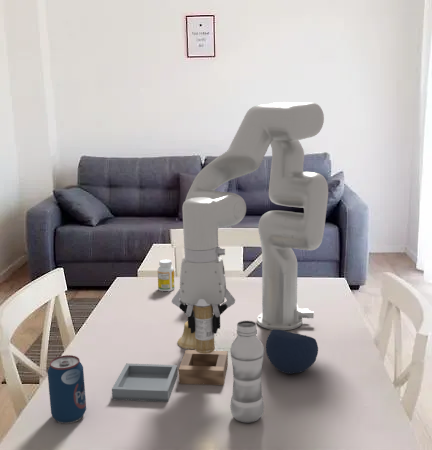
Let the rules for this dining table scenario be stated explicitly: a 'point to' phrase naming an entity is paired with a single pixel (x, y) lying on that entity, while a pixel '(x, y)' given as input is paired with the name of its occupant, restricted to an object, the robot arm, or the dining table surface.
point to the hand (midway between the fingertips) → (204, 330)
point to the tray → (145, 382)
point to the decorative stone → (291, 351)
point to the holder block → (203, 368)
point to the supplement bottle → (165, 275)
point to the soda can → (66, 389)
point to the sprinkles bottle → (204, 327)
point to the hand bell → (187, 338)
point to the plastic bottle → (247, 373)
